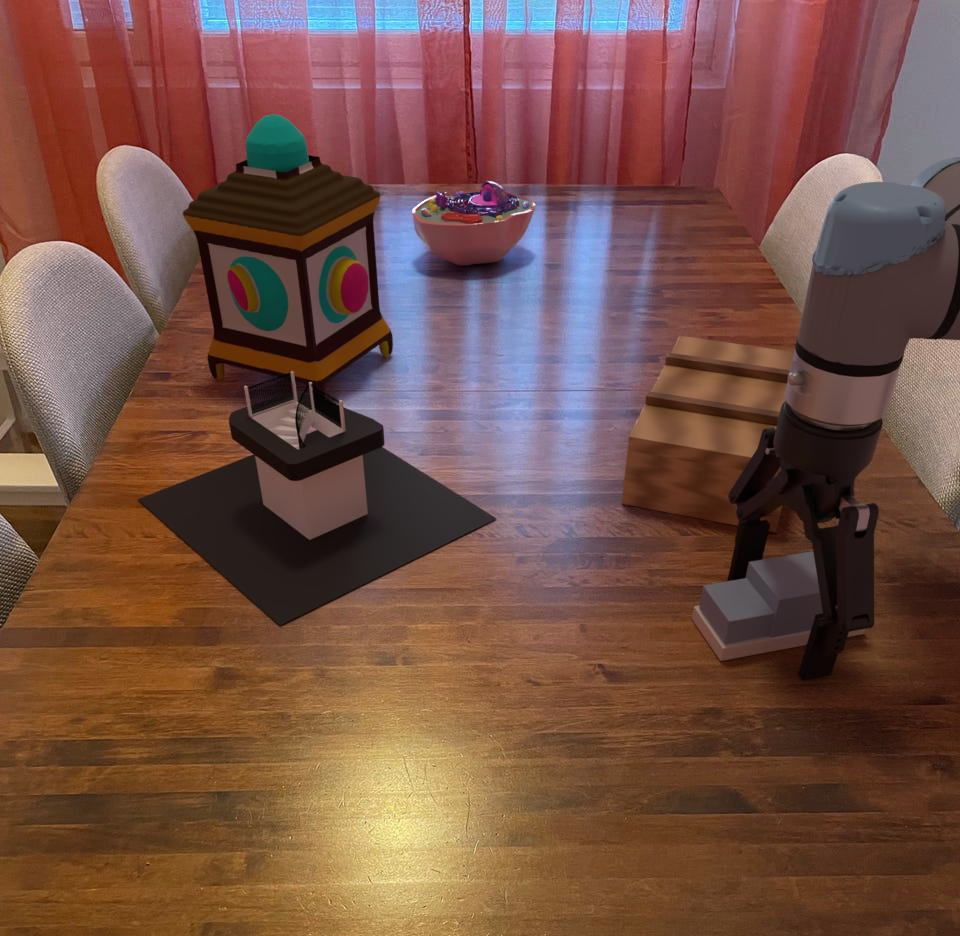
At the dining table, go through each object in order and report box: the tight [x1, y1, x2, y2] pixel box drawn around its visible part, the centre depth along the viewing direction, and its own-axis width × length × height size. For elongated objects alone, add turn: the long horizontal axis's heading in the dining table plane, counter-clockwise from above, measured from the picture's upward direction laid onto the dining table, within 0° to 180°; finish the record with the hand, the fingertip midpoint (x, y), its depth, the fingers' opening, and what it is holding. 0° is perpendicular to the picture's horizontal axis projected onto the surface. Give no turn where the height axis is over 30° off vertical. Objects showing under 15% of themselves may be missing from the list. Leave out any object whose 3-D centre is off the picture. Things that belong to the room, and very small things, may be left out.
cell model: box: [411, 180, 537, 266], centre depth 155 cm, size 17×20×11 cm
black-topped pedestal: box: [137, 371, 498, 626], centre depth 98 cm, size 28×26×13 cm
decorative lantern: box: [182, 114, 394, 399], centre depth 119 cm, size 20×20×30 cm
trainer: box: [691, 550, 875, 662], centre depth 86 cm, size 14×6×6 cm, turn 105°
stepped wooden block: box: [621, 335, 795, 534], centre depth 108 cm, size 16×26×9 cm, turn 160°
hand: (776, 625), depth 88 cm, fingers open, 13 cm apart
